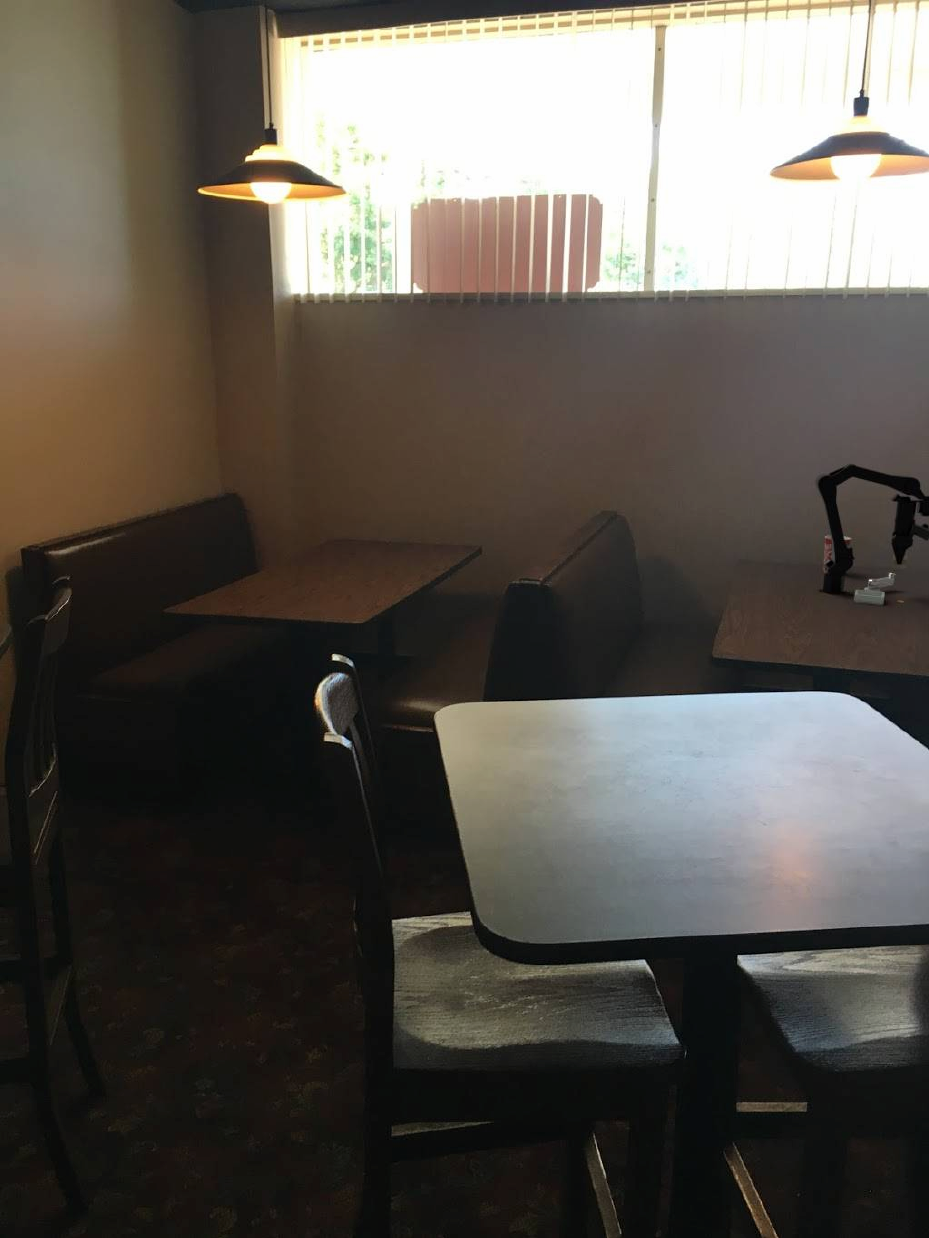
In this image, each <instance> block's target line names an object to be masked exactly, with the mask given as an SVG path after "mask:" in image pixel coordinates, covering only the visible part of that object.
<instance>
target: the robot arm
mask: <svg viewBox="0 0 929 1238" xmlns="http://www.w3.org/2000/svg"><path fill="white" fill-rule="evenodd" d="M852 478H855V479H860V480H863V481H867V482H871V483H875V484H879V485H883V486H886V487H889V488H891V489H893V490H895V491H897V492H898V493H896V494H895V495H894V496H893V497H891V498H890V501H892V502H896V508H895V509H896V510H895V517H894V525H893V531H892V535H891V548H892V549H893V555H894V554H895V558H896V561H897V564H898V565H901V563H902V560H903V558H904V555H905V552H906V550H907V549H908V550H909V548H911V547H913V545H914V537H915V536H916V537H918V538H920V539H922V540H924V541H929V524H928V523H925V522H924V523H922V524H917V523H916V519H915V517H916V513H917V514H919V516H920V517H925V518H926V517H927V518H928V517H929V495H925V494H924V492H923V491H922V489H921V483H920V480H919V479H918V478H916V477H913V476H911V475H902V474H889V473H885V472H881V471H878V470H874V469H870V468H866V467H864V466H863V467H862V466H859V465H856V464H853V463H848V464H846V465H845V466H842V467H840V468H838V469H836V470H833V471H831V472H829V473H822V474H820V475H818V476H817V478H816V479H815V480H814V481H815V482H814V484H815V487H816V489H817V492H818V494H819V496H820V498H821V501H822V503H823V507H824V512H825V515H826V521H827V526H828V530H829V534H830V535H829V536H831V540H832V559H831V560H830V561H829V562H827V563H826V564H825V565H824V564H823V568H824V567H825V570H826V571H827V572H826V573H825V574H824V573H823V574H824V575H823V584H822V588H819V589H818V591H819V592H823V593H826V594H830V595H838V594H846V593H847V592H848V591H847V590H844V586H845V579H846V578H845V575H846V573H847V571H850V569H851V568H852V567H853V565H854V560H856V558H855V557H854V552H853V551H854V550H853V547H852V545H851V544H850V545H846V543H845V540H844V536H845V535H844V533H843V528H842V523H841V517H840V514H839V508H838V504H837V495H838V492H837V491H838V488H837V487H838V486H839V485H842V484H843V483H845V482H846V481H848V480H850V479H852ZM899 493H901V494H904V495H906V496H902V495H900V494H899ZM911 497H913V498H915V499H911Z"/></svg>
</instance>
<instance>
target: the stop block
mask: <svg viewBox="0 0 929 1238" xmlns="http://www.w3.org/2000/svg"><path fill="white" fill-rule="evenodd" d="M908 553H909V548H908V549H907V550H906V552H905V555H904V558H903V560H902V563H901V565H898V564H897V561H896V558H895V554H894V553H893V559H892V565H891V566H892V569H903V570H905V569H907V562H908V561H907V560H908Z"/></svg>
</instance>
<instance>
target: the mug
mask: <svg viewBox="0 0 929 1238" xmlns="http://www.w3.org/2000/svg"><path fill="white" fill-rule="evenodd" d="M843 536H844V540H845V543H846V545H850V546H851V541H852V537H849V536H845V535H843ZM823 555H824V556H823V569H822V570H823V571H822V572H823V574H825V573H826V572H827V571H826V570H825V567H824V565H825V564H826V563H827V562H829V561H830V560H831V559H832V540H831V535H826V536H824V554H823Z"/></svg>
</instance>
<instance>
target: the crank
mask: <svg viewBox="0 0 929 1238" xmlns="http://www.w3.org/2000/svg"><path fill="white" fill-rule="evenodd" d="M887 575H888V576H885V577H881V578H868V582H867V587H868V588H869V589H877V588H878V589H880V588H885V587H890V586H894V582H895V577H896V575H897V574H896V573H893V572H888V573H887Z"/></svg>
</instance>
